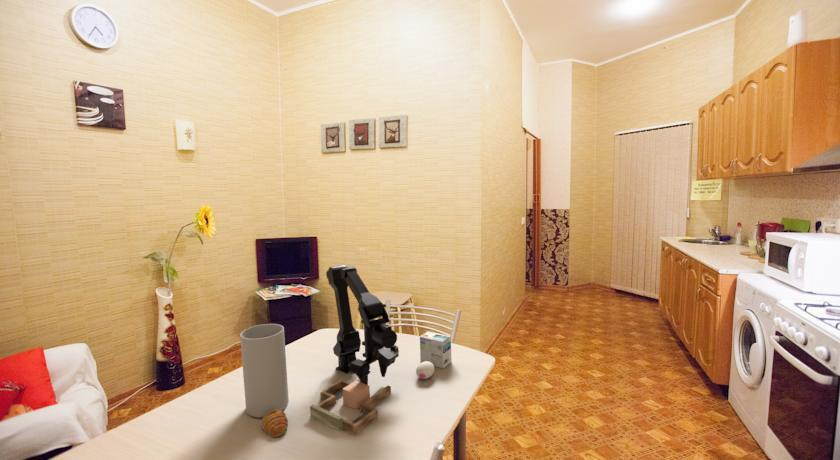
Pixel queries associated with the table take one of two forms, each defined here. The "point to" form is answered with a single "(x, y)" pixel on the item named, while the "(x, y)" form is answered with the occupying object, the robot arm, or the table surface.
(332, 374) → the table surface
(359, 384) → the terracotta block
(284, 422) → the pastry
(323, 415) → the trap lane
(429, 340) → the light bulb box
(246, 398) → the cylinder vase
